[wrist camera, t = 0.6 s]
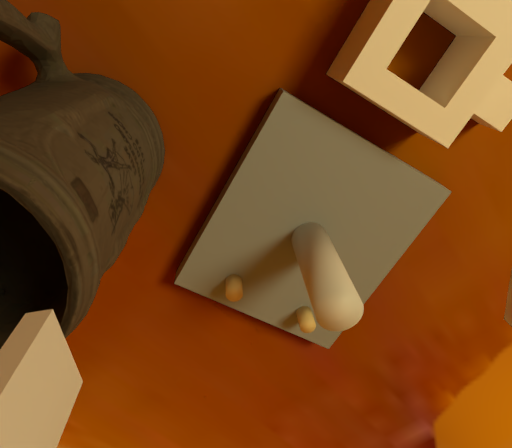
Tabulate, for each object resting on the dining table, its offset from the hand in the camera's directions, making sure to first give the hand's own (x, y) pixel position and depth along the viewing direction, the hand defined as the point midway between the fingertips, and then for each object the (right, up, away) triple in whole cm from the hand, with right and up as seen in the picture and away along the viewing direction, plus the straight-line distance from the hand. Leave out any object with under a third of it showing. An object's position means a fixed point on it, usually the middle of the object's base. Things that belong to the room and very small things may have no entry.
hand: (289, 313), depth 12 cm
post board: (+3, +2, +25) cm, 25 cm away
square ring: (+12, +15, +20) cm, 27 cm away
